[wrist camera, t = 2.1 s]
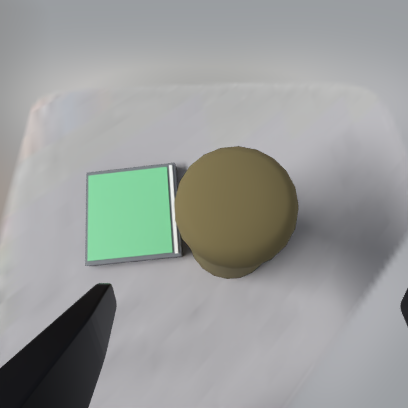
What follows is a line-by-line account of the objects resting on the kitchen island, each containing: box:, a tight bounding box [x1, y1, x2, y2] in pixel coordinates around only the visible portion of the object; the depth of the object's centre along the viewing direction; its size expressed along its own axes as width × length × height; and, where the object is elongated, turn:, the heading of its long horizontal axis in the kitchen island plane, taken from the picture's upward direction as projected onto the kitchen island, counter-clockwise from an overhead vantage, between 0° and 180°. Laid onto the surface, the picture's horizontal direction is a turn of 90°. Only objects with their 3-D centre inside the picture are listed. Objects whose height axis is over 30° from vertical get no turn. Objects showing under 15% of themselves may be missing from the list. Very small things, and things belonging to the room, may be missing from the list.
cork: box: [174, 146, 298, 279], centre depth 16 cm, size 6×6×11 cm
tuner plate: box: [85, 163, 183, 266], centre depth 21 cm, size 7×7×1 cm
